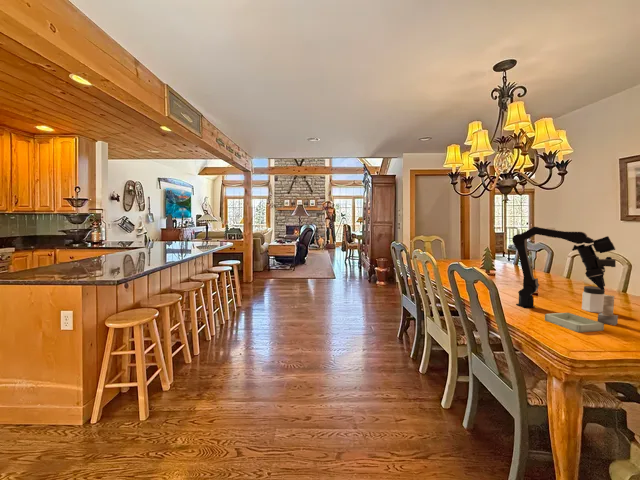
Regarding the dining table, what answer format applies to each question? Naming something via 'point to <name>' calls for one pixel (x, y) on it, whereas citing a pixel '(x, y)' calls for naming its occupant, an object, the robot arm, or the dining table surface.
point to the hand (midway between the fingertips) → (603, 287)
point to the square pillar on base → (608, 311)
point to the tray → (574, 322)
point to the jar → (593, 299)
